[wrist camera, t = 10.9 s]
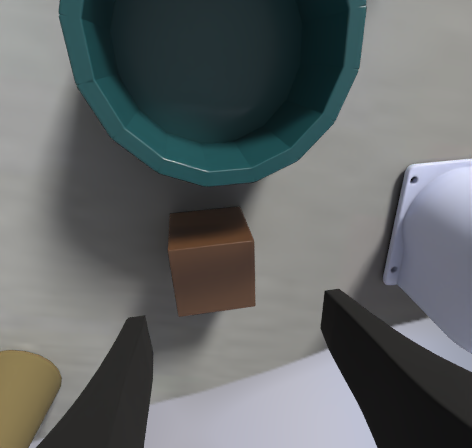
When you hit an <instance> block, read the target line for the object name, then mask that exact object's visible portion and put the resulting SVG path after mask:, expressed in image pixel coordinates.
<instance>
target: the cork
mask: <svg viewBox="0 0 472 448" xmlns="http://www.w3.org/2000/svg"><path fill="white" fill-rule="evenodd" d="M61 379H62V378H61V375H60V373H59V370H58V369H57V368H56V367H55V366H54V365H53V363H52V362H51V361H49V360H47V359H45V358H43V357H42V356H40V355H37V354H33V353H30V352H26V351H14V350H8V351H1V352H0V448H28V447H29V446H30V444H31V442H32V440H33V438H34V436H35V434H36V432H37V430H38V429H39V427H40V425H41V423H42V421H43V419H44V417H45V415H46V413H47V411H48V409H49V408H50V406H51V404H52V402H53V400H54V398H55V396H56V394H57V392H58V390H59V389H60V387H61Z"/></svg>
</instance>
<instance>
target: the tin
mask: <svg viewBox="0 0 472 448" xmlns="http://www.w3.org/2000/svg"><path fill="white" fill-rule="evenodd" d="M365 5H366V0H60V3H59V14H60V15H59V20H60V24H61V28H62V32H63V36H64V40H65V44H66V48H67V52H68V56H69V60H70V64H71V68H72V72H73V76H74V80H75V83H76V85H77V88H78V89H79V91H80V92H81V94H82V95H83V97H84V98H85V100H86V101H87V103H88V104H89V106H90V107H91V109H92V110H93V112H94V113H95V115H96V116H97V118H98V119H99V121H100V122H101V124H102V125H103V127H104V129H105V130H106V132H107V133H108V135H109V136H110V138H113V140H114V141H115V142H116V143H118V144H119V145H120V146H122V147H123V148H124V149H126V150H127V151H128V152H130V153H131V154H132V155H134V156H135V157H136V158H138V159H139V160H140V161H142V162H143V163H145V164H146V165H147V166H149V167H150V168H151V169H153V170H154V171H155V172H158V173H159V174H162V175H166V176H169V177H173V178H176V179H180V180H183V181H187V182H190V183H194V184H197V185H201V186H204V187H206V186H207V187H211V186H222V185H232V184H243V183H253V182H256V181H258V180H260V179H262V178H264V177H266V176H268V175H270V174H272V173H274V172H276V171H278V170H280V169H282V168H284V167H286V166H288V165H291V164H293V163H295V162H297V161H298V160H299V159H300V158H301V157H302V156H303V155H304V154H305V153H306V152H307V151H308V150H309V149H310V148H311V147H312V146H313V145H314V144H315V143H316V142H317V140H318V139H319V138H320V137H321V136H322V135H323V134H324V133H325V132H326V131H327V130H328V129H329V128H330V127H331V126H332V125H333V124H334V122H335V120H336V118H337V116H338V114H339V112H340V110H341V107H342V105H343V103H344V101H345V99H346V97H347V95H348V92H349V90H350V88H351V86H352V84H353V82H354V79H355V77H356V75H357V73H358V69H359V66H360V58H361V50H362V42H363V33H364V25H365V17H366V9H367V7H366V6H365Z"/></svg>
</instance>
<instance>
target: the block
mask: <svg viewBox="0 0 472 448" xmlns="http://www.w3.org/2000/svg"><path fill="white" fill-rule="evenodd" d="M168 256H169V262H170V268H171V274H172V280H173V287H174V293H175V299H176V305H177V311H178V316H179V317H182V316H189V315H196V314H203V313H210V312H217V311H225V310H232V309H239V308H246V307H253V306H255V256H254V239H253V237H252V234H251V232H250V230H249V227H248V225H247V222H246V220H245V217H244V215H243V213H242V210H241V208H240V207H229V208H219V209H210V210H200V211H190V212H181V213H171V214H170V219H169V237H168Z"/></svg>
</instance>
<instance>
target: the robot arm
mask: <svg viewBox="0 0 472 448" xmlns="http://www.w3.org/2000/svg"><path fill="white" fill-rule="evenodd" d="M413 177H414V179H413V180H412V181H411V182H410V180H411V178H413ZM391 268H392V269H391ZM383 282H384V283H385V284H386V285H396V284H398V285H399V286H400V288H401V289H402V290H403V291H404V292H405V293H406V294H407V295H408V296H409V297H410V298H411V299H412V300H413V301H414V302H415V303H416V304H417V305H418V306H419V307H420V308H421V309H422V310H423V311H424V312H425V313H426V314H427V315H428V317H429V318H430V319H431V320H432V321H433V322H434V323H435V324H436V325H437V326H438V327H439V328H440V329H441V330H442V331H443V332H444V333H445V334H446V335H447V336H448V337H449V338H450V339H451V340H452V341H453V342H455V343H456V344H457V345H459V346H460V347H461V348H463V349H465V350H466V351H468V352H470V353H472V159H462V160H451V161H440V162H430V163H419V164H412V165H410V166H408V167H407V169H406V171H405V174H404V179H403V184H402V188H401V193H400V198H399V203H398V208H397V213H396V217H395V222H394V227H393V232H392V237H391V241H390V246H389V251H388V256H387V261H386V265H385V270H384V275H383ZM321 330H322V333H323V336H324V338H325V341H326V343H327V346H328V348H329V351H330V353H331V355H332V356H333V358H334V360H335V362H336V364H337V366H338V368H339V369H340V371H341V373H342V375H343V377H344V379H345V381H346V382H347V384H348V386H349V388H350V390H351V391H352V393H353V395H354V397H355V399H356V401H357V402H358V404H359V406H360V409H361V411H362V412H363V415H364V417H365V419H366V422H367V424H368V426H369V429H370V431H371V433H372V436H373V438H374V440H375V443H376V445H377V448H472V372H470V371H468V370H466V369H464V368H462V367H460V366H457V365H456V364H453V363H452V362H450V361H448V360H446V359H444V358H442V357H440V356H438V355H436V354H434V353H432V352H431V351H429V350H427V349H425V348H424V347H422V346H420V345H418V344H417V343H415V342H413V341H412V340H410V339H408V338H407V337H405V336H404V335H402V334H401V333H399V332H398V331H396V330H395V329H393V328H392V327H390V326H389V325H387V324H386V323H384V322H383V321H382V320H380V319H379V318H377V317H376V316H375V315H373V314H372V313H370V312H369V311H368V310H366V309H365V308H364V307H362V306H361V305H360V304H358V303H357V302H356V301H355V300H353V299H352V298H351V297H349V296H348V295H347V294H345V293H344V292H343V291H341V290H340V289H334V290H327V291H325V294H324V302H323V311H322V320H321ZM152 381H153V350H152V345H151V340H150V336H149V331H148V327H147V322H146V318H145V316H137V317H130V318H128V319H127V320H126V322H125V324H124V326H123V328H122V330H121V331H120V333H119V335H118V337H117V339H116V341H115V342H114V344H113V346H112V348H111V349H110V351H109V353H108V354H107V356H106V357H105V359H104V361H103V362H102V364H101V366H100V367H99V369H98V370H97V372H96V373H95V375H94V376H93V377H92V379H91V380H90V382H89V383H88V385H87V386H86V388H85V389H84V390H83V392H82V393H81V395H80V396H79V397H78V399H77V400H76V401H75V402H74V404H73V405H72V406H71V408H70V409H69V410H68V411H67V413H66V414H65V415H64V416H63V417H62V419H61V420H60V421H59V422H58V423H57V424H56V426H55V427H54V428H53V429H52V430H51V431H50V433H49V434H48V435H47V436H46V437H45V438H44V439H43V441H42V442H41V443H40V444H39V445H38V446H37V447H36V448H144V440H145V433H146V425H147V418H148V411H149V404H150V397H151V389H152Z"/></svg>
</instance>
